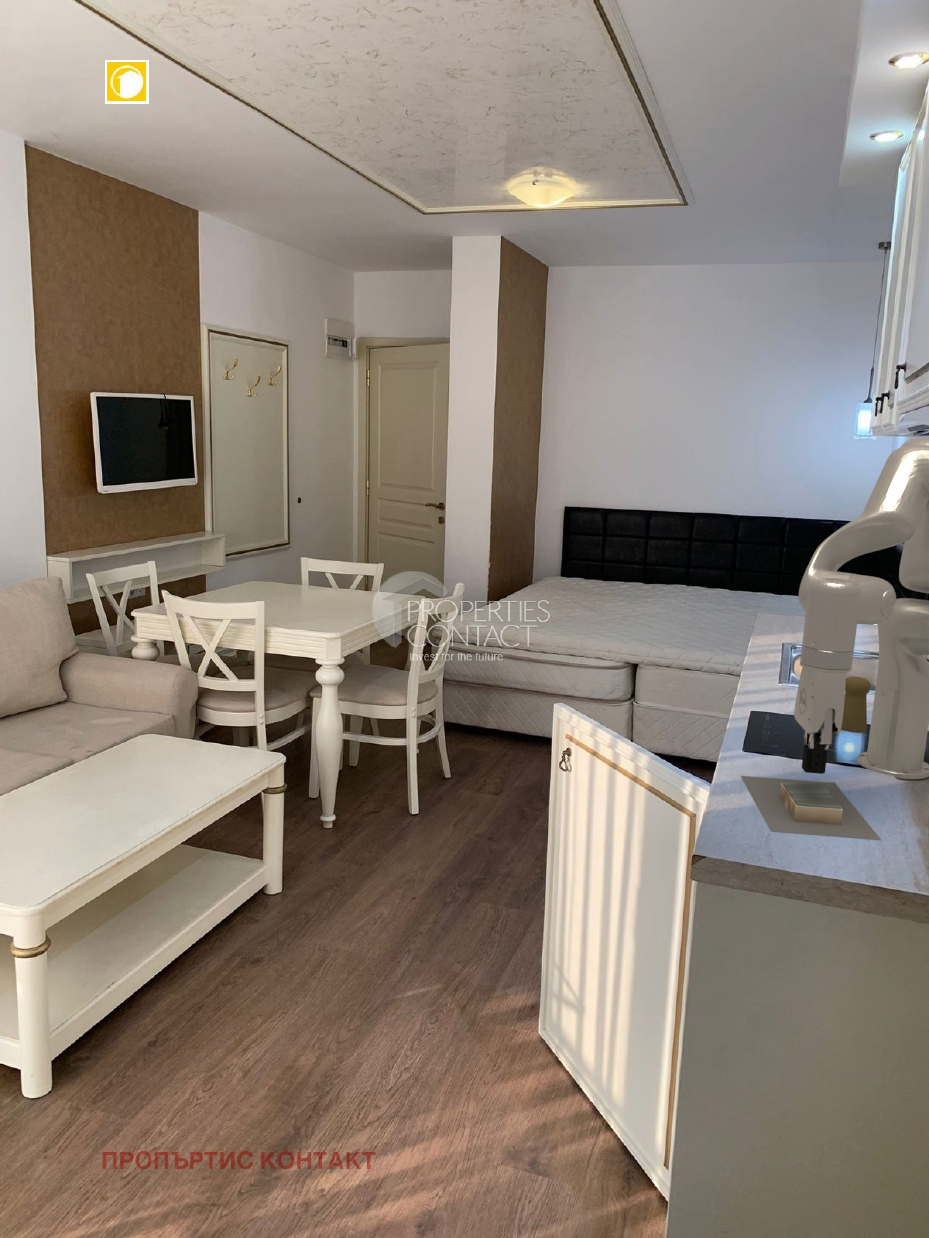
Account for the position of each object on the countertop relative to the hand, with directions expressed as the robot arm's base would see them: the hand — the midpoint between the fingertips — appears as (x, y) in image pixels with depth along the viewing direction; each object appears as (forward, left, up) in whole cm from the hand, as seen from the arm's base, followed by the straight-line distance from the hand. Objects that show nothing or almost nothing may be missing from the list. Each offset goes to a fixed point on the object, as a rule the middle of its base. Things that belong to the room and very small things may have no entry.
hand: (813, 771), depth 148 cm
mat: (-2, 0, -7) cm, 7 cm away
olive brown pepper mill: (-51, +22, -7) cm, 56 cm away
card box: (-5, 0, -5) cm, 7 cm away
